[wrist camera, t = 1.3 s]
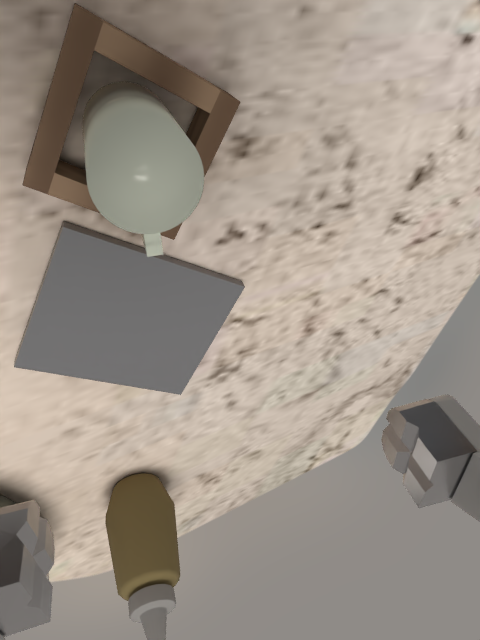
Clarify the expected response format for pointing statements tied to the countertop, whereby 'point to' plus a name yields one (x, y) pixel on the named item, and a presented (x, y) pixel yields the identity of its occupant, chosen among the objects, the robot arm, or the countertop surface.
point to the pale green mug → (139, 162)
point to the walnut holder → (137, 57)
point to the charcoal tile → (123, 314)
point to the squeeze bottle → (144, 550)
